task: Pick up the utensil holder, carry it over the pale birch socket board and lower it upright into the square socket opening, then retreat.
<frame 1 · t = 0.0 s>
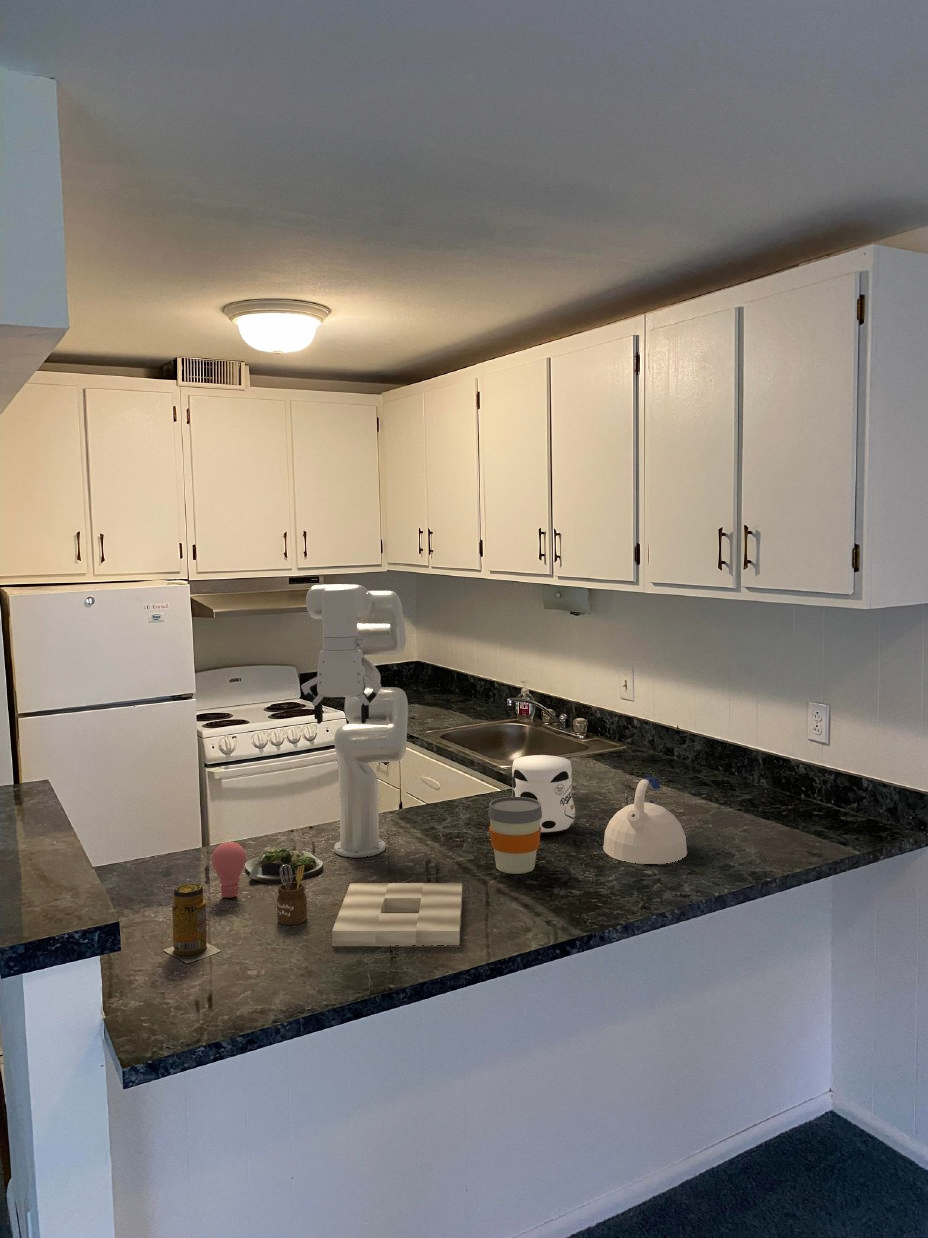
hand: (342, 722, 201), 37 cm above the worktop, tool pointing down, fingers open, 9 cm apart
salad plate: (283, 872, 214), on the worktop
condiment: (192, 952, 172), on the worktop
socket board: (401, 920, 185), on the worktop
milk container: (541, 829, 243), on the worktop
utensil holder: (292, 921, 186), on the worktop
light bulb: (230, 898, 198), on the worktop
kettle: (644, 852, 225), on the worktop
reusable coffee cup: (515, 867, 215), on the worktop
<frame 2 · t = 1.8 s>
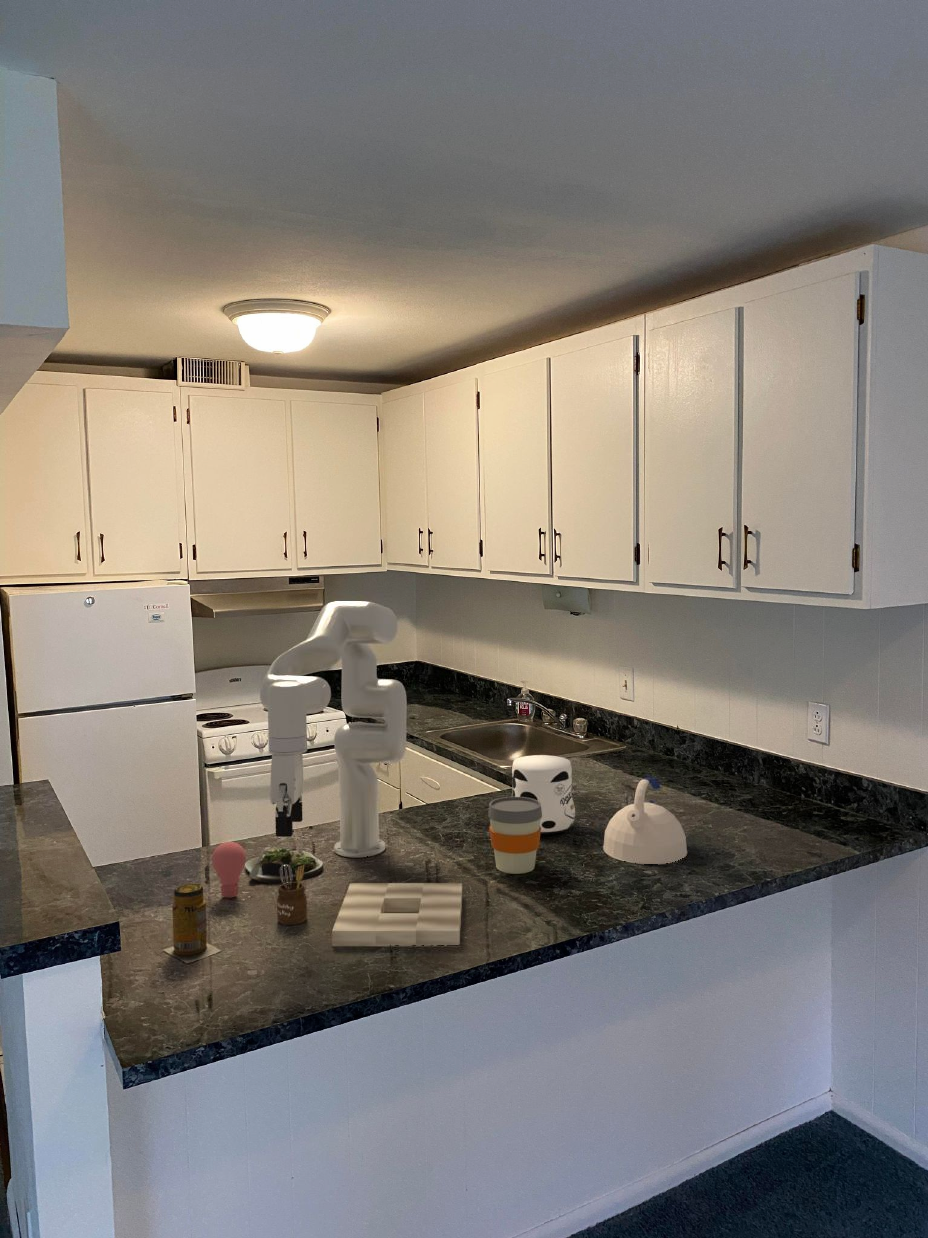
hand: (289, 828, 184), 19 cm above the worktop, tool pointing down, fingers open, 9 cm apart
nothing on the worktop moved.
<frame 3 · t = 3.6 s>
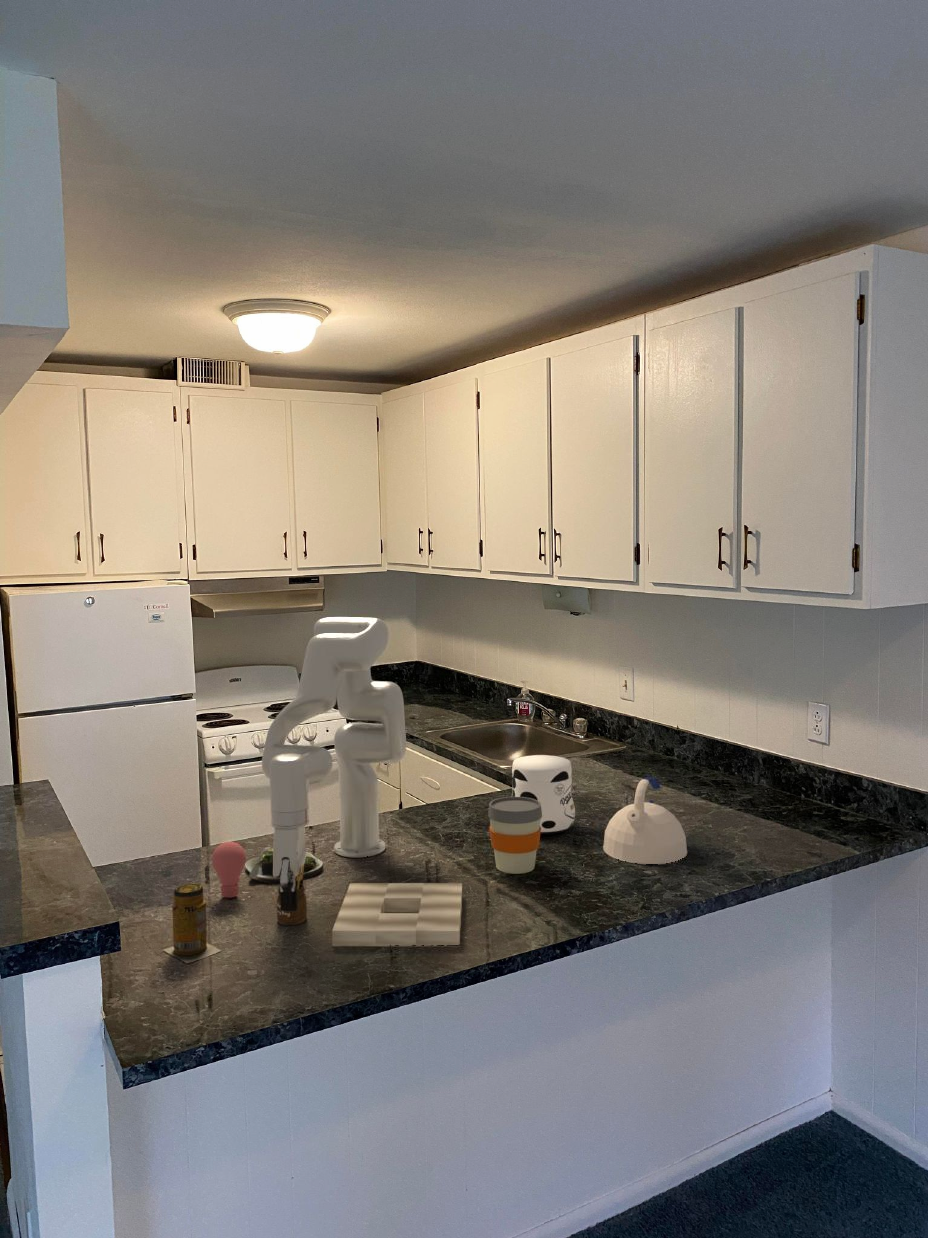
hand: (292, 903, 186), 4 cm above the worktop, tool pointing down, fingers closed on utensil holder, 5 cm apart
utensil holder: (292, 921, 186), on the worktop, touching gripper
everything else where it was.
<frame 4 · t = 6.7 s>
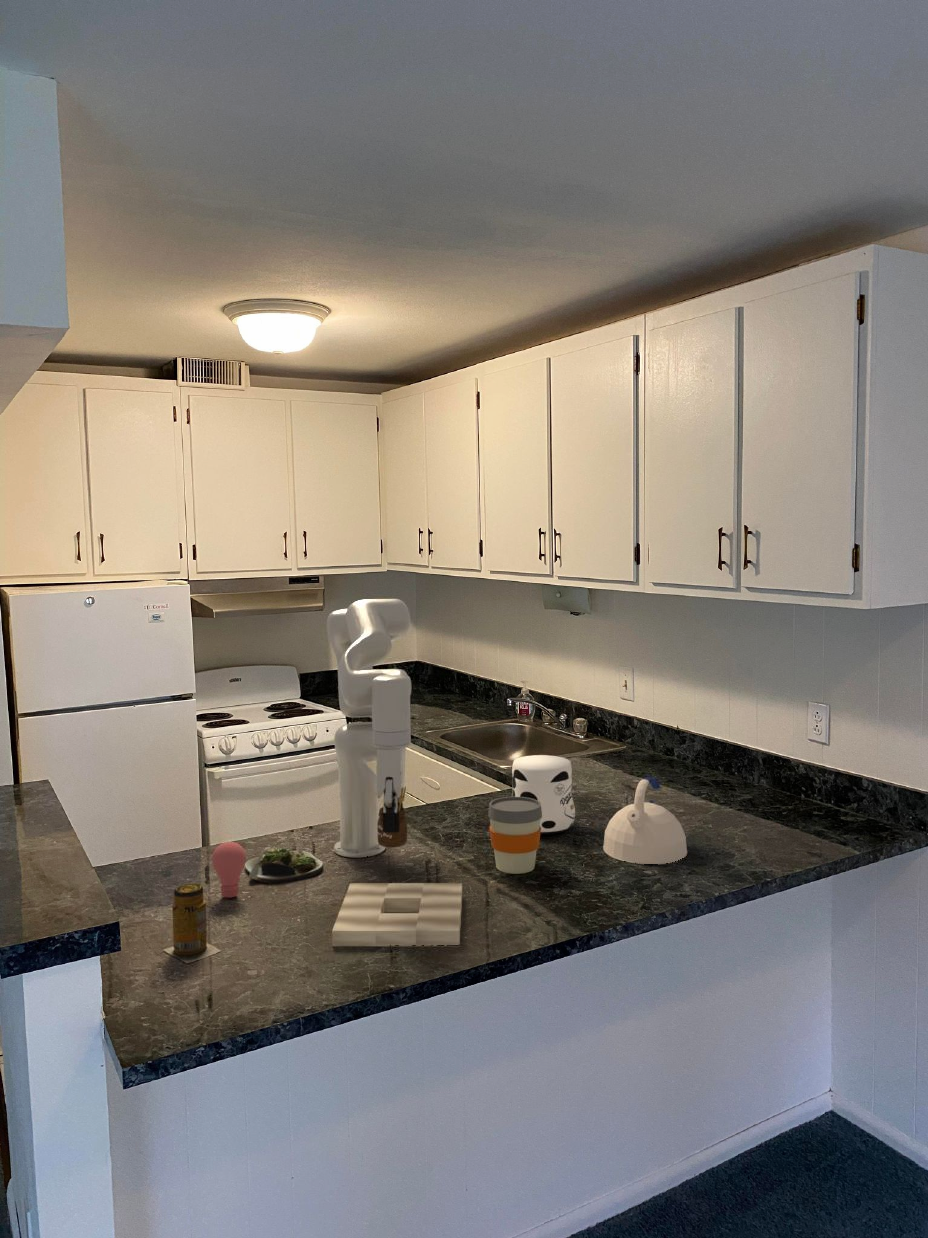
hand: (393, 826, 184), 19 cm above the worktop, tool pointing down, fingers closed on utensil holder, 5 cm apart
utensil holder: (392, 844, 184), point 16 cm above the worktop, touching gripper
everything else where it was.
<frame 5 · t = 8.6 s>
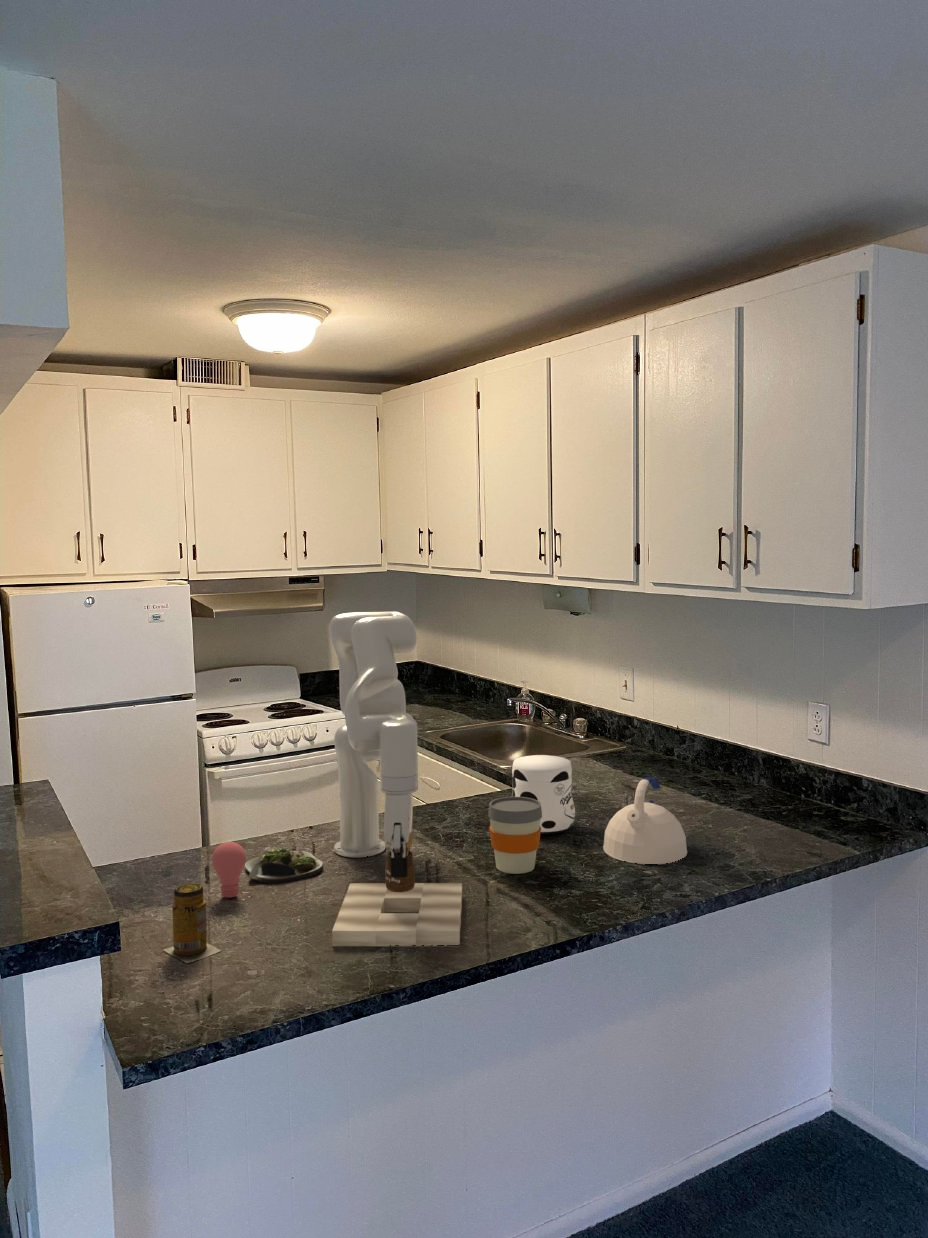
hand: (400, 870, 184), 10 cm above the worktop, tool pointing down, fingers closed on utensil holder, 5 cm apart
utensil holder: (400, 888, 184), point 7 cm above the worktop, touching gripper
everything else where it was.
when the fingers open (5 cm above the worktop, at t = 10.1 s): utensil holder drops 1 cm, resting in socket board.
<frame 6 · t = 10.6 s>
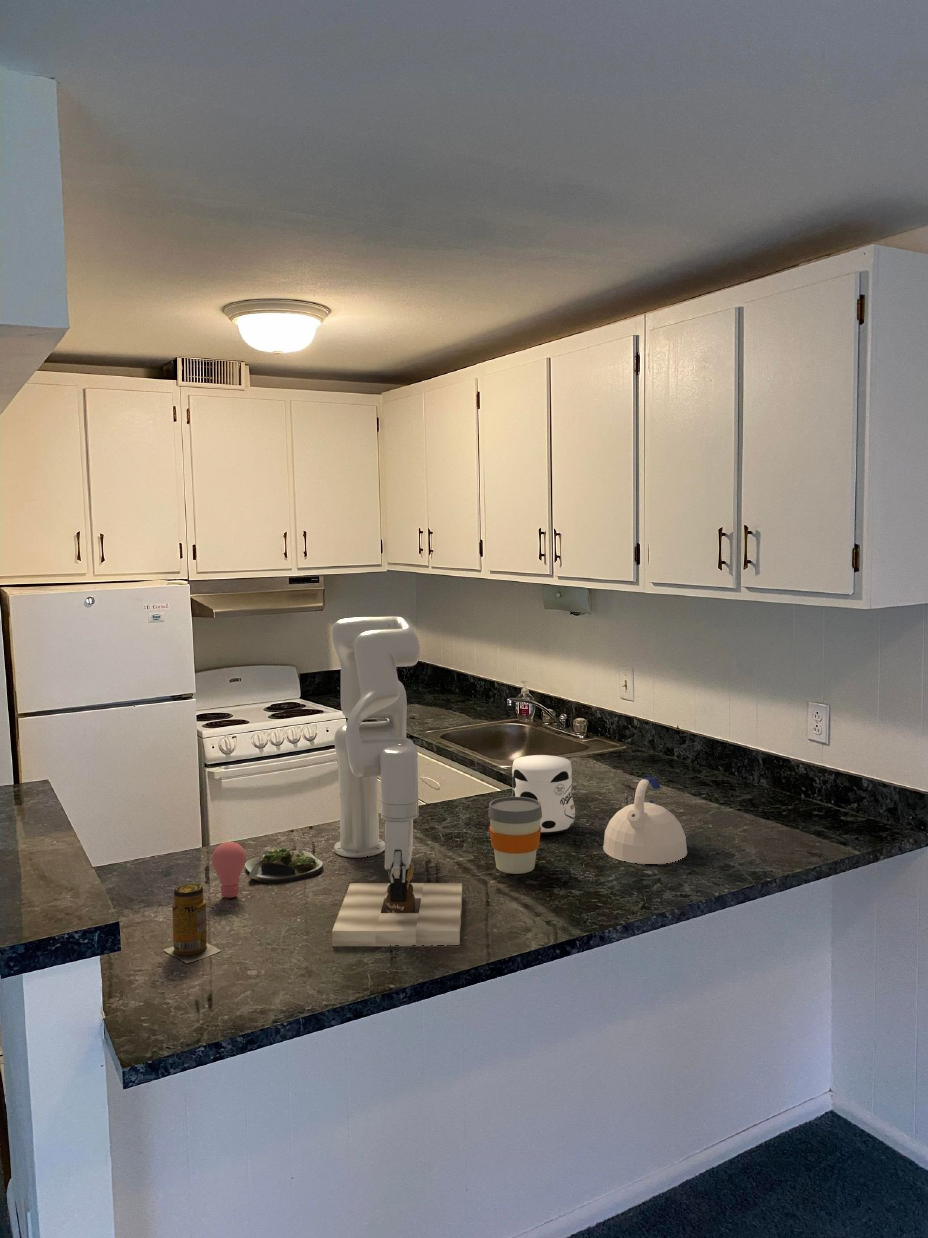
hand: (400, 892, 185), 6 cm above the worktop, tool pointing down, fingers open, 9 cm apart
utensil holder: (401, 921, 185), resting in socket board
everything else where it was.
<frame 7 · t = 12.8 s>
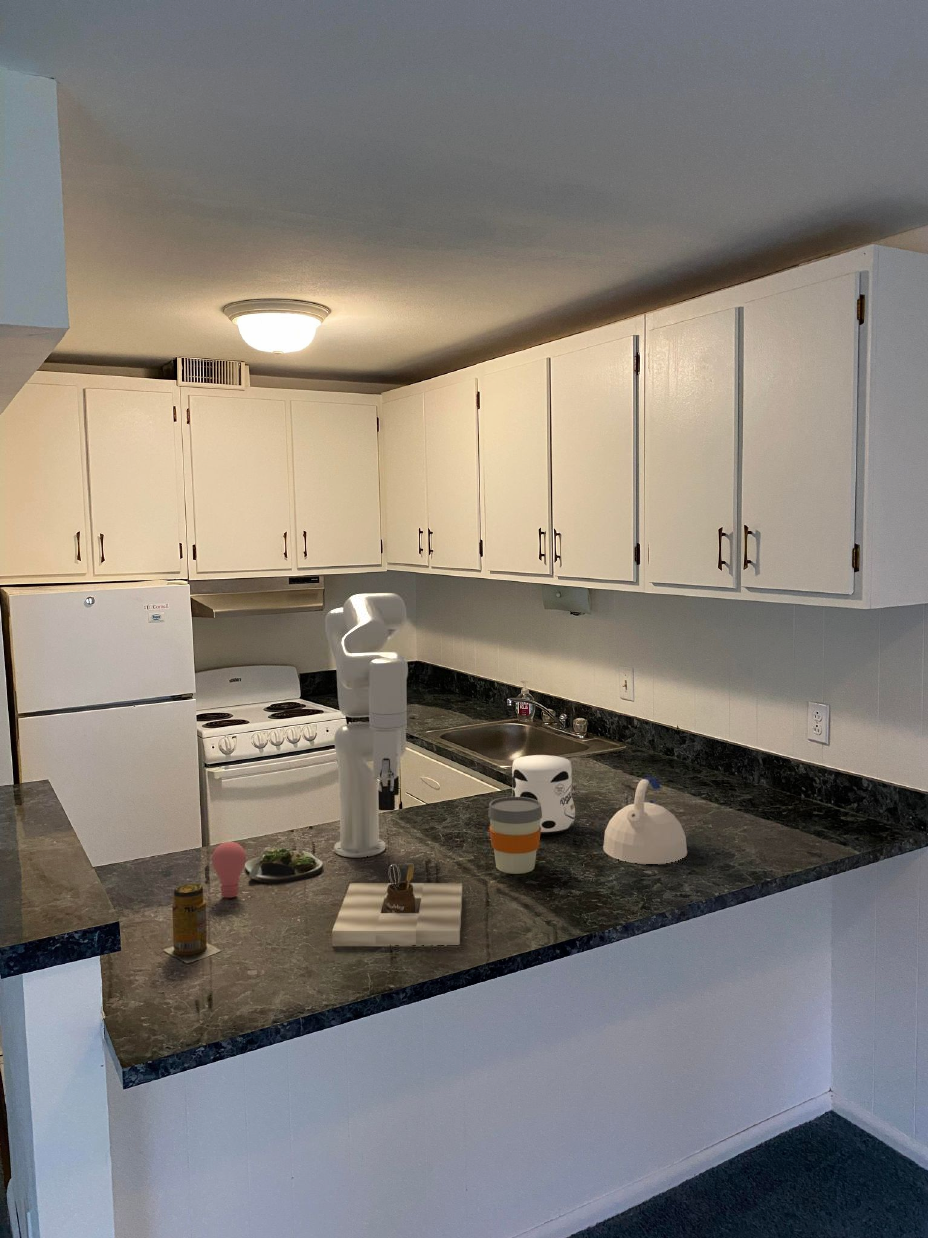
hand: (389, 802, 187), 23 cm above the worktop, tool pointing down, fingers open, 9 cm apart
nothing on the worktop moved.
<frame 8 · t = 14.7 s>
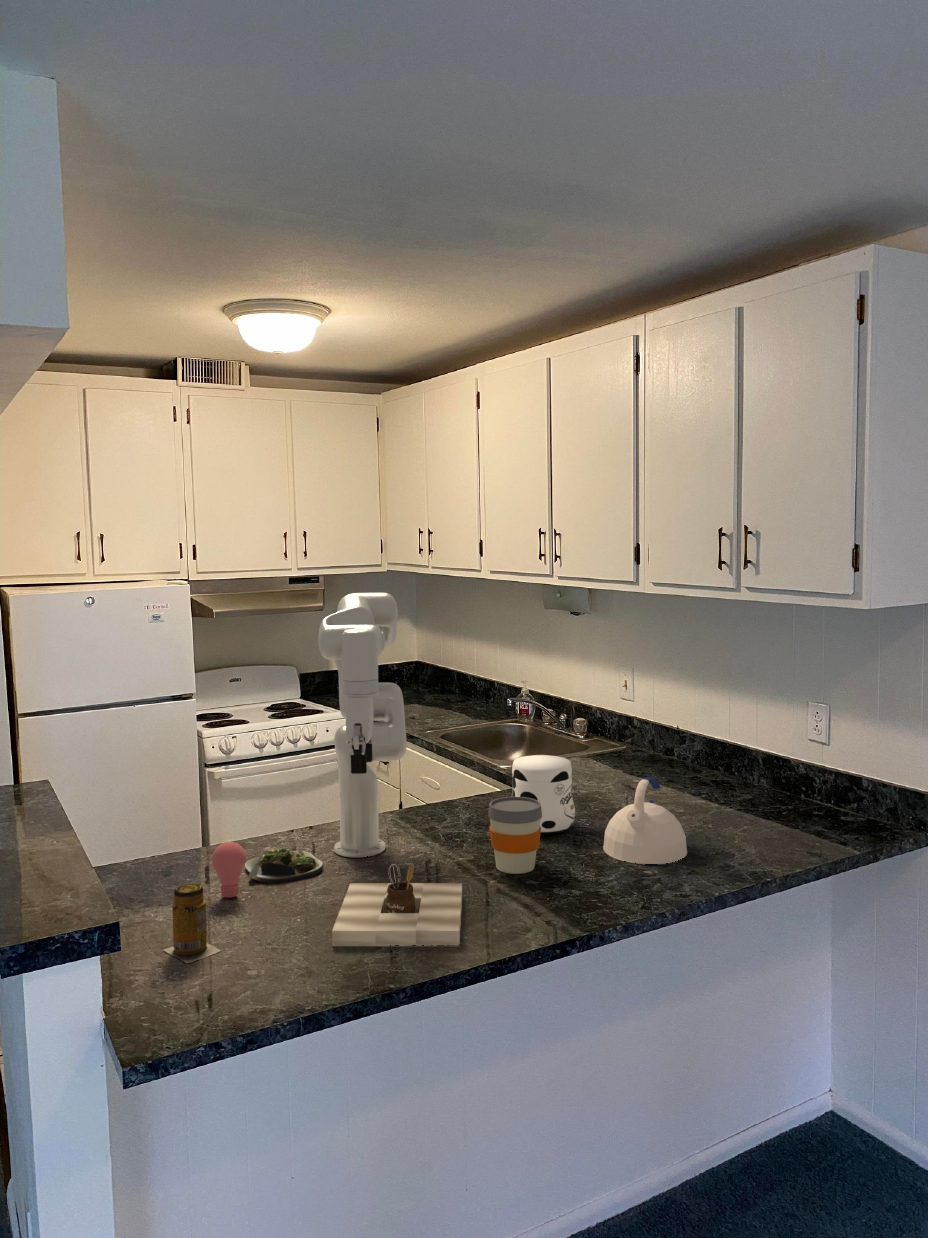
hand: (362, 767, 195), 28 cm above the worktop, tool pointing down, fingers open, 9 cm apart
nothing on the worktop moved.
at the end: utensil holder 0.1 cm off-centre on the socket board, point 0.0 cm above the socket board's base; utensil holder tilted 0°; the gripper is holding nothing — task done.
